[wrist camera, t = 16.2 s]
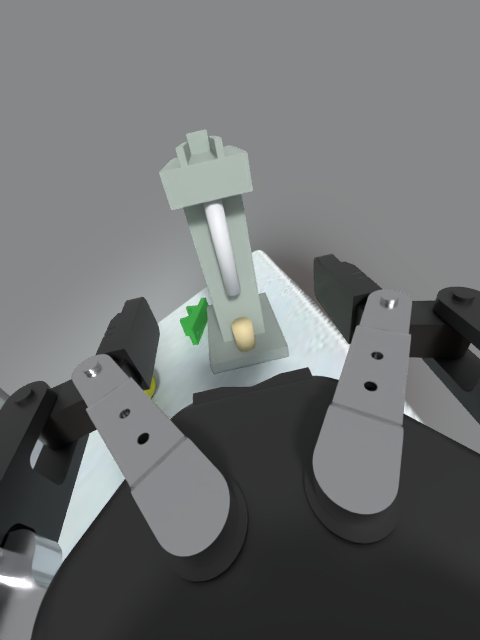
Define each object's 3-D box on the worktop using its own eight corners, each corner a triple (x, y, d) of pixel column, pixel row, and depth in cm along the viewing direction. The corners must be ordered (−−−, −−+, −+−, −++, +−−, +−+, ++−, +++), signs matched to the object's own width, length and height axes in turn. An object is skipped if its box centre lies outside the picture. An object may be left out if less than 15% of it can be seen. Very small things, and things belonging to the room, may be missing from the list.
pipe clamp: (196, 314, 64) (190, 298, 61) (210, 313, 63) (205, 297, 60) (181, 345, 55) (174, 329, 53) (198, 345, 54) (191, 328, 52)
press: (213, 374, 47) (128, 147, 26) (209, 314, 62) (153, 141, 42) (288, 356, 47) (263, 115, 26) (266, 301, 62) (238, 121, 41)
